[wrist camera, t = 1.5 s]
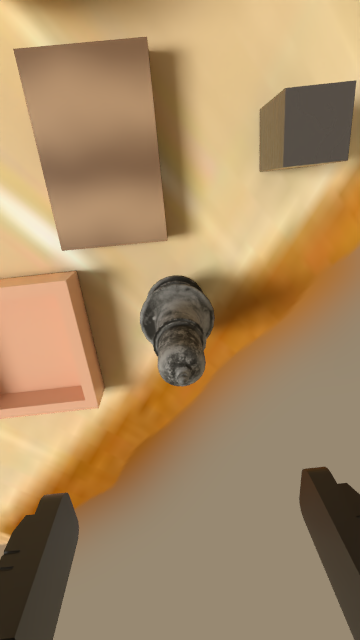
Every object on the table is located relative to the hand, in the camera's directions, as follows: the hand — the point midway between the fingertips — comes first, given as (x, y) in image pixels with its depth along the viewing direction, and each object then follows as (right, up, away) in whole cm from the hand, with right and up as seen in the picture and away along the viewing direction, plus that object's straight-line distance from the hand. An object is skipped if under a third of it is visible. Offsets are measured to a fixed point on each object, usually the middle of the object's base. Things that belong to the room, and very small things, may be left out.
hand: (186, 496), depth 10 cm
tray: (-14, +4, +17) cm, 23 cm away
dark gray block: (+8, +19, +12) cm, 24 cm away
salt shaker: (-1, +8, +17) cm, 19 cm away
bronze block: (-6, +18, +12) cm, 23 cm away
